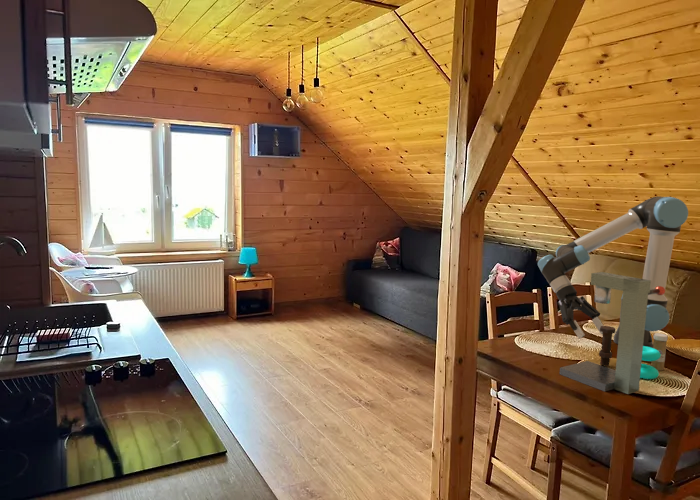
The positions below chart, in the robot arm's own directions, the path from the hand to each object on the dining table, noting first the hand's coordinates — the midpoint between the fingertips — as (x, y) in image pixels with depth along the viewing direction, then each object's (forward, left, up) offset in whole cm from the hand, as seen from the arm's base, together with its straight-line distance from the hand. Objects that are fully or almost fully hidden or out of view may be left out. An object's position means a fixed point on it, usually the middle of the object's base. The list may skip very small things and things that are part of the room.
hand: (593, 334), depth 205 cm
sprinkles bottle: (-23, +4, -11) cm, 26 cm away
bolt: (-4, +3, -11) cm, 12 cm away
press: (0, +18, -11) cm, 21 cm away
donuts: (-14, +12, -11) cm, 22 cm away
